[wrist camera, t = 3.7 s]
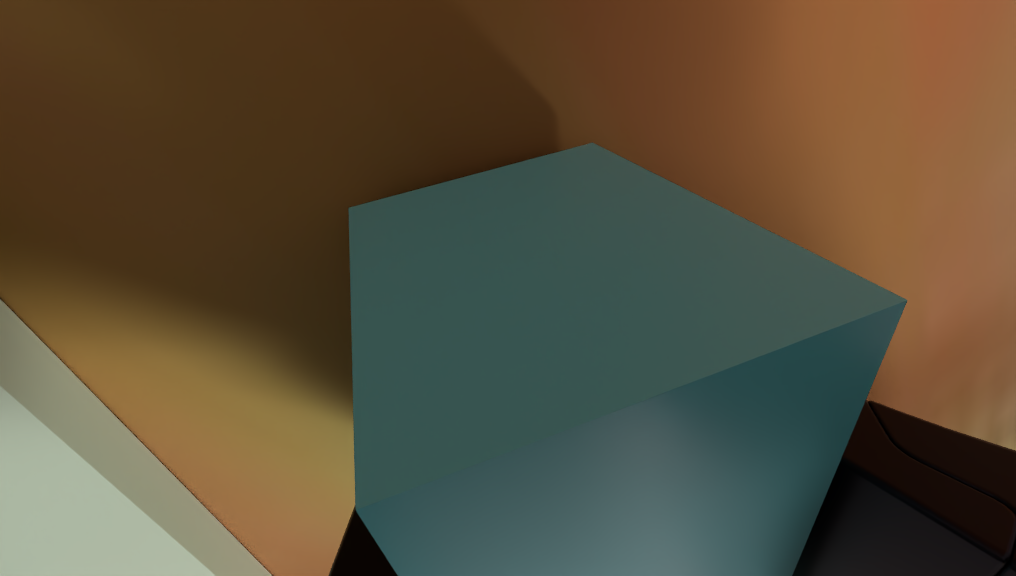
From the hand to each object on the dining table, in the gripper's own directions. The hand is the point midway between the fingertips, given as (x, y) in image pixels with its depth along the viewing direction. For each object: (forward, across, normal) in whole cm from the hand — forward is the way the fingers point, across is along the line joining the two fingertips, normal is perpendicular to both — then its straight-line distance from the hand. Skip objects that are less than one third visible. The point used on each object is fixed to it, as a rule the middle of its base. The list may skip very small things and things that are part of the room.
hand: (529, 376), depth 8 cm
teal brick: (+1, 0, 0) cm, 1 cm away
